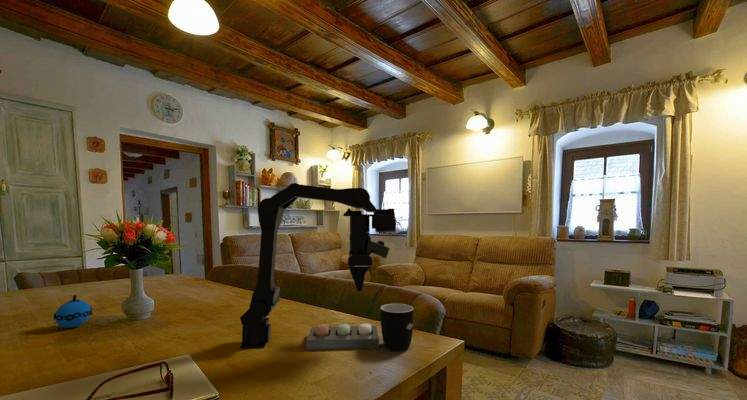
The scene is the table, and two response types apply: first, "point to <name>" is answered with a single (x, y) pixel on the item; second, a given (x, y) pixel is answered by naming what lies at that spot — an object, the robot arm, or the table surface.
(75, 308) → the ornament
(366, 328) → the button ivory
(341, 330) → the egg sage
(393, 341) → the mug
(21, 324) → the table surface
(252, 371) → the table surface
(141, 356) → the table surface
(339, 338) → the grey holder
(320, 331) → the salmon pink rounded lump
